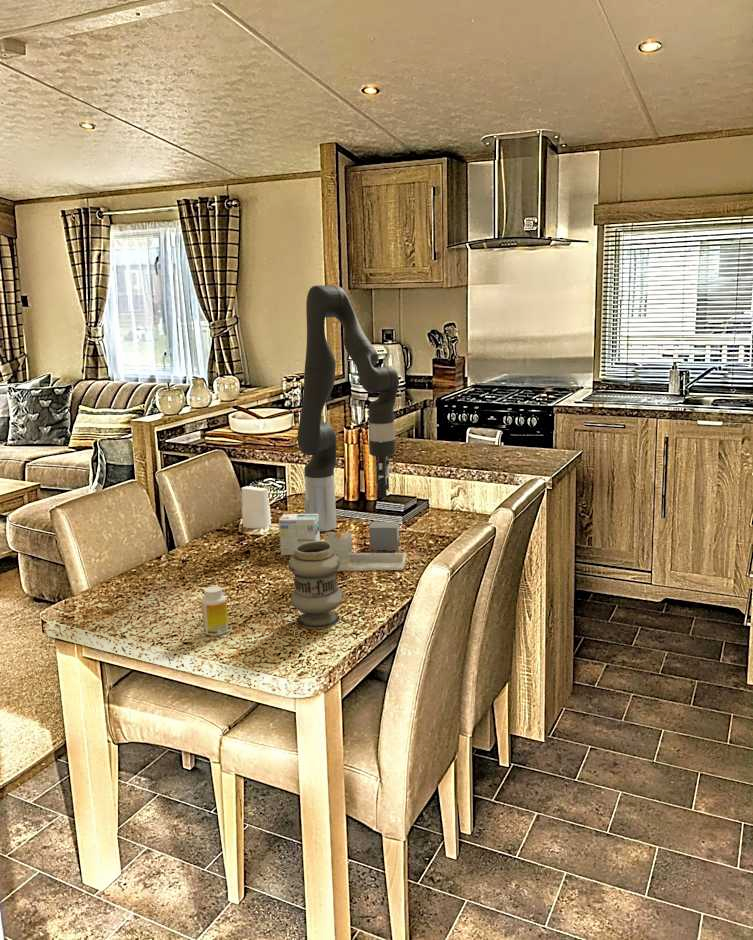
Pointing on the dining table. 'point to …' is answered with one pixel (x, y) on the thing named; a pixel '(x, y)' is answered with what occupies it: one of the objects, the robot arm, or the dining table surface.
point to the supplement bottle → (214, 611)
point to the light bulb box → (297, 531)
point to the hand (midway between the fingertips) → (383, 493)
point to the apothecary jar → (315, 584)
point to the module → (384, 535)
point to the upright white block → (255, 507)
